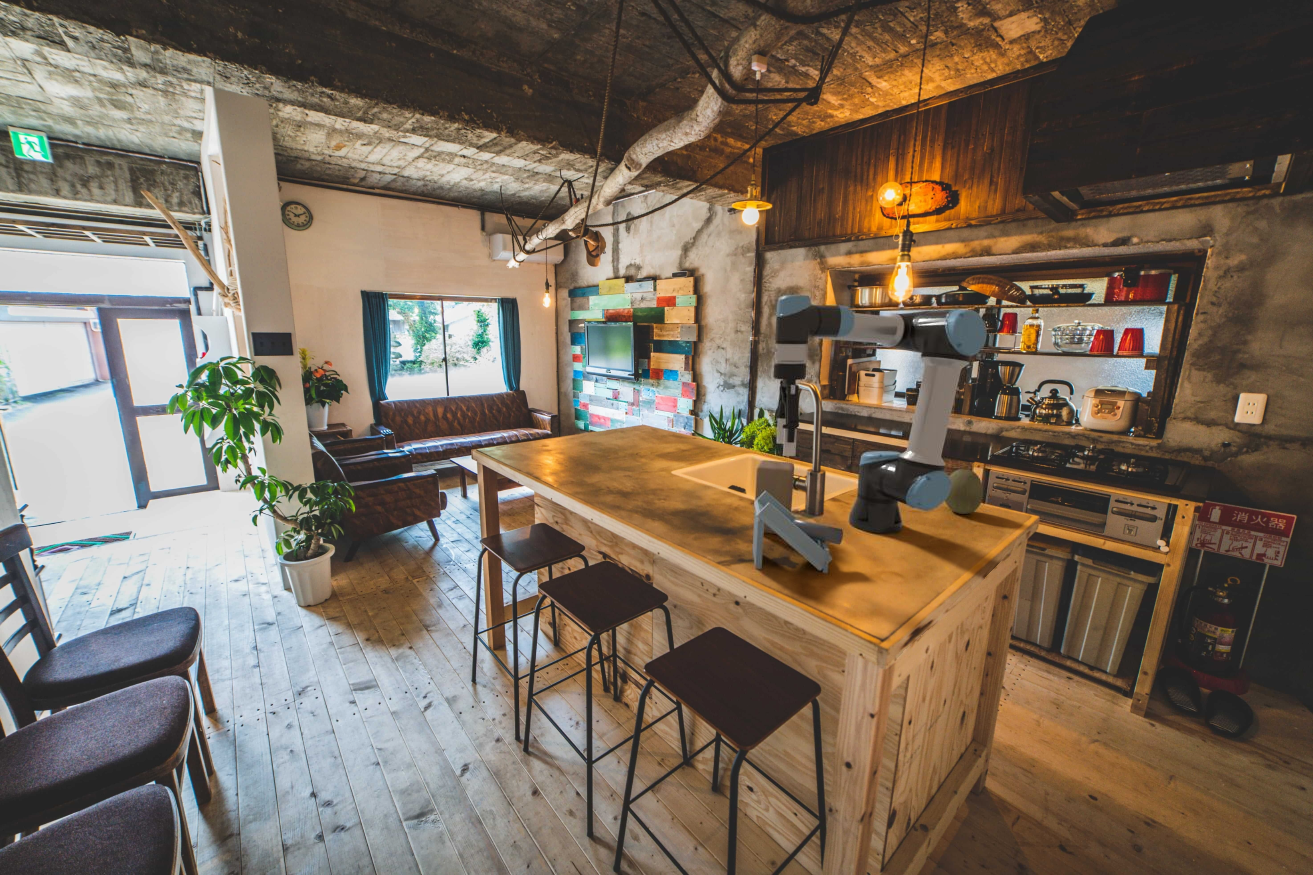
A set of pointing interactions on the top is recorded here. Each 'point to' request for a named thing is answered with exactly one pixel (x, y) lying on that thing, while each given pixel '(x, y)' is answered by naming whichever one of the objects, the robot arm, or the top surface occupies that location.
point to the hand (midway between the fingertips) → (785, 449)
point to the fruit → (964, 492)
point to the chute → (785, 533)
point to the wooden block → (775, 483)
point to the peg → (820, 531)
